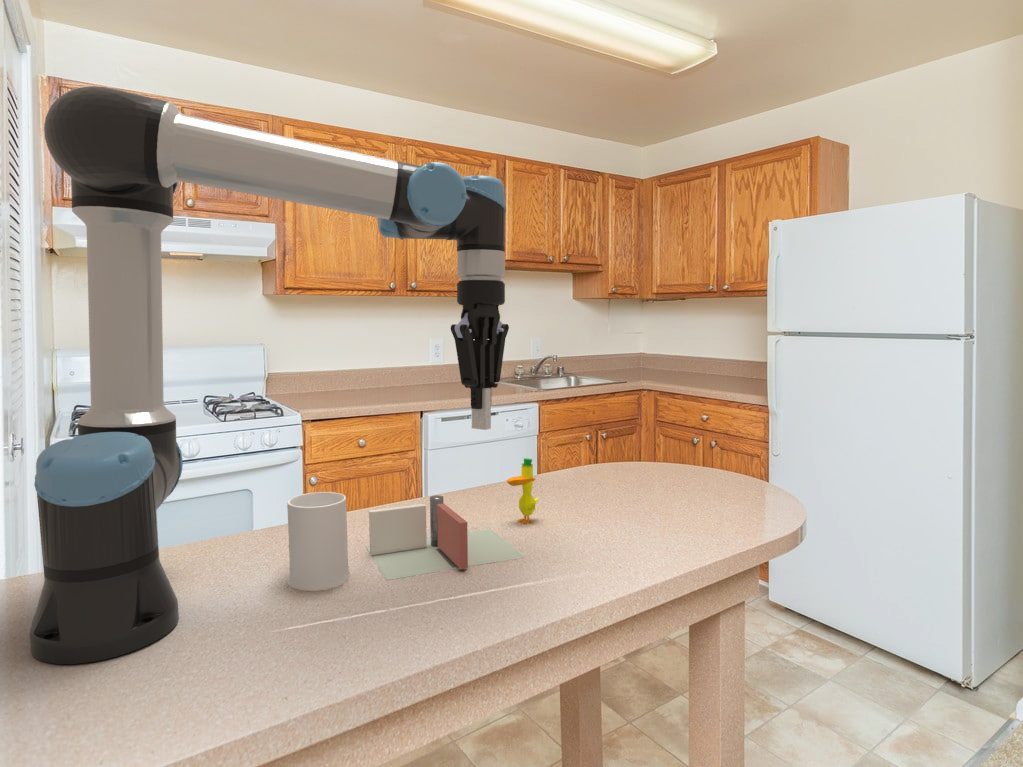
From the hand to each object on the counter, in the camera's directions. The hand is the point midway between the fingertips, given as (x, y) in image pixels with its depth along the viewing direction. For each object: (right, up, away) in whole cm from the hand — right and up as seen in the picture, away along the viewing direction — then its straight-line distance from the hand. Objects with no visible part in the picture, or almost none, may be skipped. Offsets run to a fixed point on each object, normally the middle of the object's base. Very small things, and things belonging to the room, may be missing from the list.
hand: (481, 428), depth 104 cm
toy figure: (+7, -19, +15) cm, 25 cm away
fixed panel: (-13, -20, +1) cm, 24 cm away
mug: (-24, -21, -9) cm, 33 cm away
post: (-7, -19, +3) cm, 21 cm away
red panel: (-4, -20, -3) cm, 20 cm away
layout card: (-6, -20, 0) cm, 21 cm away
